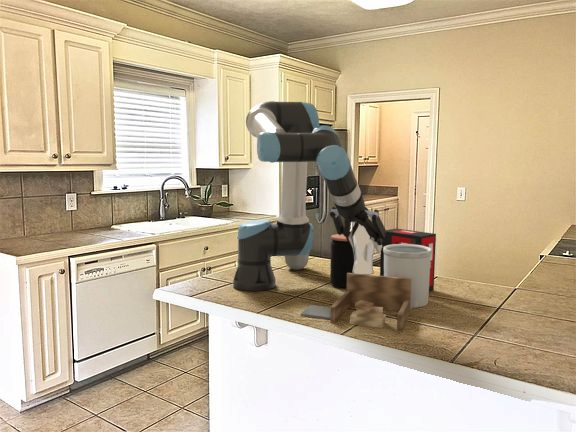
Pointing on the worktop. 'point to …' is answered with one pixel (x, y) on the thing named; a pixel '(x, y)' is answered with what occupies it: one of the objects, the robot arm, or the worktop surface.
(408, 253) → the utensil holder
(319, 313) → the coaster
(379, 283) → the open wooden frame
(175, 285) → the worktop surface
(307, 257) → the glass bottle
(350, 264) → the coffee jar
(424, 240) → the cleaning product box
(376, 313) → the offcut stack
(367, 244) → the beer glass
